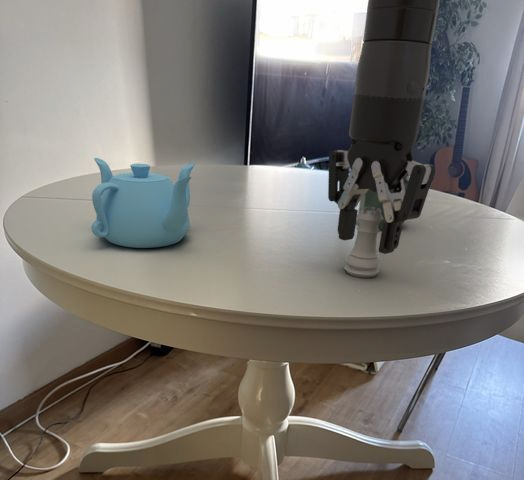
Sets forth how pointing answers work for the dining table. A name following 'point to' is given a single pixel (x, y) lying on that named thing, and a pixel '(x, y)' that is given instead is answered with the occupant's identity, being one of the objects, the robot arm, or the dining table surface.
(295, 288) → the dining table surface
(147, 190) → the teapot
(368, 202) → the holder
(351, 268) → the rook chess piece
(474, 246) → the dining table surface
